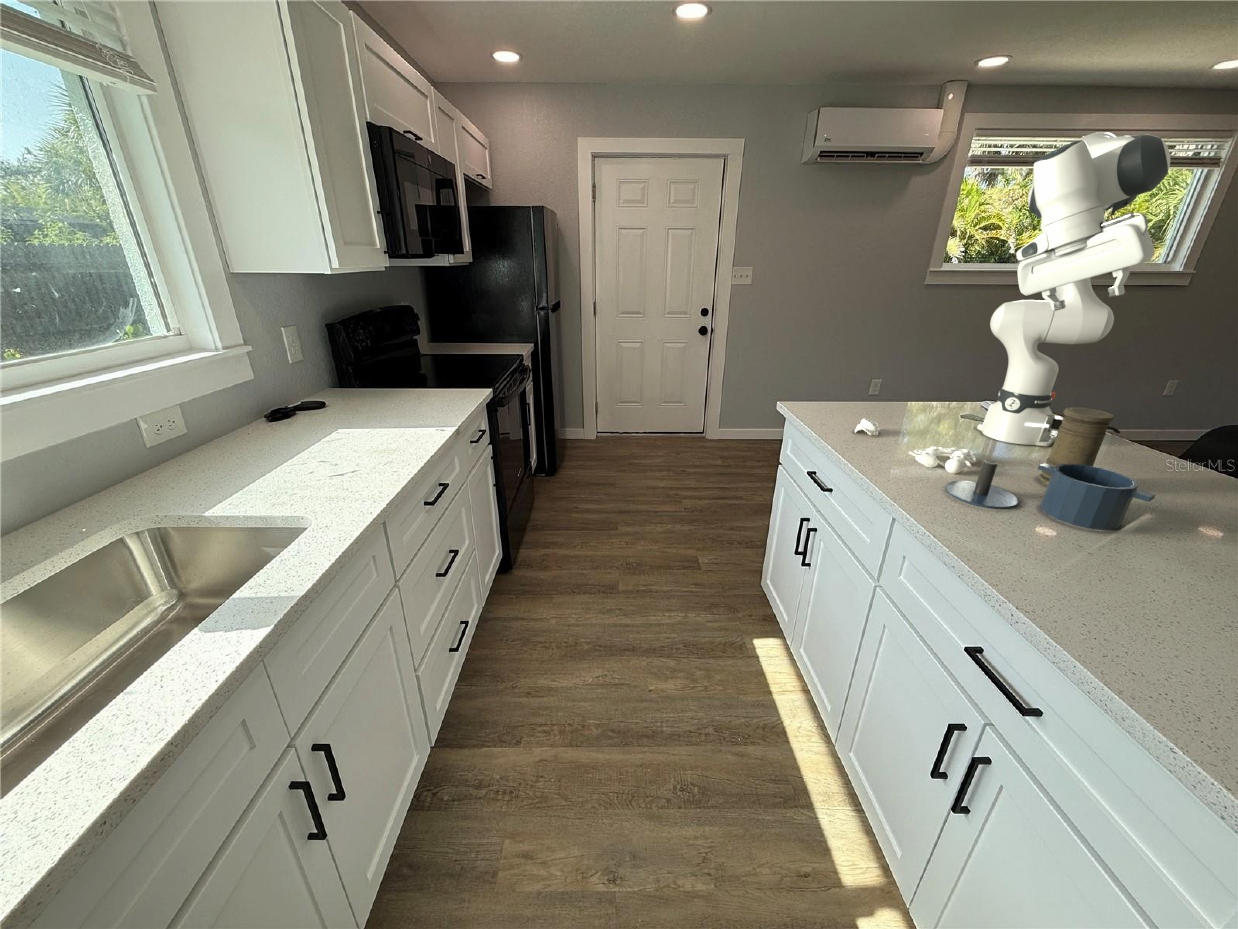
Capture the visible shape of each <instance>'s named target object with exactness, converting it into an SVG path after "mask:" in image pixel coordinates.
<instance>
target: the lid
mask: <svg viewBox="0 0 1238 929" xmlns="http://www.w3.org/2000/svg"><path fill="white" fill-rule="evenodd" d="M998 465H999V464H998V462H997V461H994V460H989V459H985V460H982V464H981V467H980V470H979V473H978V476H977V480H976V481H973V480H953V481H950V482H948V483H946V484H945V491H946V492H947V494H948V495H950V496H951V497H953V498H954V499H957V500H958V501H961V502H964V503H966V504H970V505H973V506H977V507H981V508H987V509H995V510H1006V509H1012V508H1014V507H1016V506H1017V505H1018V503H1019V501H1018V500H1019V499H1018V498H1017V497H1016V495H1014V494H1013V493H1011V492H1010V491H1008V490H1006V489H1003V488H1001V487H999V486H996V485H992V483H993V480H994V477H995V473H996V471H997V467H998Z"/></svg>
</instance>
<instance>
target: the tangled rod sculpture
mask: <svg viewBox="0 0 1238 929" xmlns="http://www.w3.org/2000/svg"><path fill="white" fill-rule="evenodd" d="M908 454H909V455H911V456H914V457H915V460H916V461H917V462H918V463H920V464H922V465H923V466H925V467H927V468H935V467H936V466H938V464H939V465H941V466H942V467H944V468H945V470H946V471H947V472H948V473H950V474H953V475H955V474H959V473H961V472H962V471H963V470H964V468H966V469H970V470H973V468H974V467H973V466H972V464H975V463H977V457H976V453H974V452H972V451H971V450H970V449H968V448H961V449H960V448H959V449H957V448H956V447H950V448H948V447H947V448H945V447H942V446H939V447H937V446H935V445H931V446H930V447H928V448H927V447H926V448H916V449H915V450H910V451H909V452H908ZM937 456H938V457H939V456H941V457H949V459H947V461H946V462H945V463H944V462H942V461H940V460H939V459H938V457H937Z"/></svg>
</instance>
